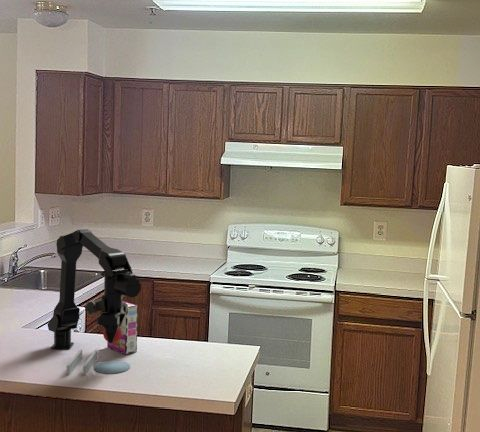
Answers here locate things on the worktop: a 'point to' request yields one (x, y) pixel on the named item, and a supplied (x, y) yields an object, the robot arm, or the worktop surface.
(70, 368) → the low walls
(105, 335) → the onion
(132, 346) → the candy bar box
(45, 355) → the worktop surface
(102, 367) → the mat
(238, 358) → the worktop surface
